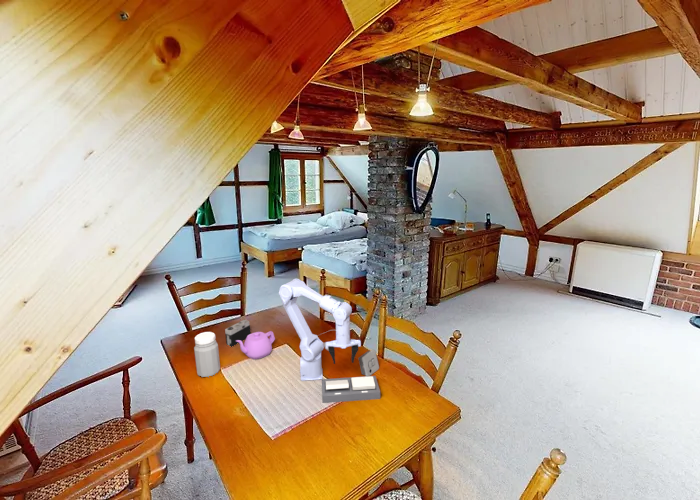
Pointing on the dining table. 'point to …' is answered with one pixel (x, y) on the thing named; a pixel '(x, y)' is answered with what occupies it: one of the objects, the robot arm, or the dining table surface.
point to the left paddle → (337, 384)
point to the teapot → (257, 344)
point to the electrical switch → (368, 363)
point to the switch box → (348, 392)
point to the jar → (206, 354)
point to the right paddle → (363, 383)
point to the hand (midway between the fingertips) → (343, 362)
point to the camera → (237, 332)
